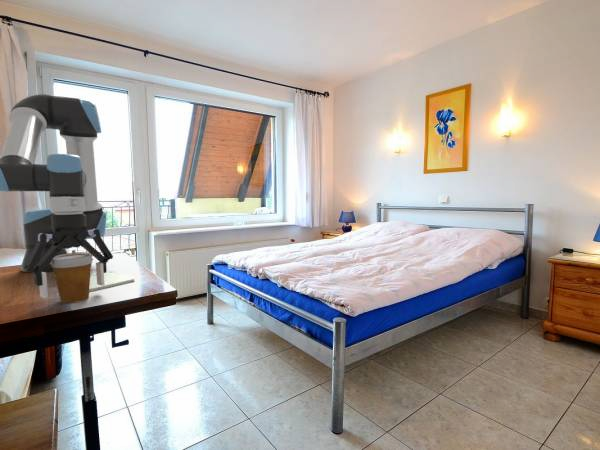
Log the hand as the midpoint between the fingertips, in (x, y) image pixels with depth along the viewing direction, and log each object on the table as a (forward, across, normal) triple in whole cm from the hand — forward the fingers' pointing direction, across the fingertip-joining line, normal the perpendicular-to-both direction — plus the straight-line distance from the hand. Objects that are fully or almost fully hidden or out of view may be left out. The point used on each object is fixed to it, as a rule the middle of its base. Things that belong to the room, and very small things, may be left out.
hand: (74, 290), depth 87 cm
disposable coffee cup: (+3, 0, 0) cm, 3 cm away
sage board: (+2, +12, +12) cm, 17 cm away
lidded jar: (+3, +11, +27) cm, 29 cm away
